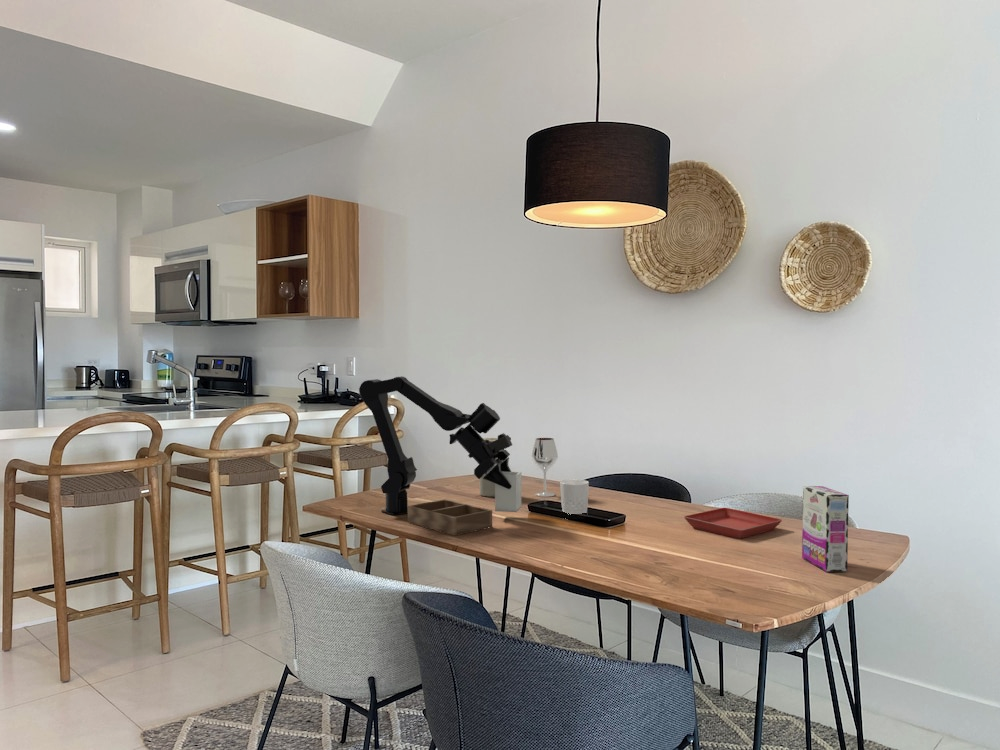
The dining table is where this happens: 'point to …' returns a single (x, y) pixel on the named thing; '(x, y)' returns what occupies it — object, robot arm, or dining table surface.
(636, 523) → the dining table surface
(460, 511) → the crate
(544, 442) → the wineglass
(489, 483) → the travel mug
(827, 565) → the candy bar box
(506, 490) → the box
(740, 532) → the plant saucer
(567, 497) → the white cup
